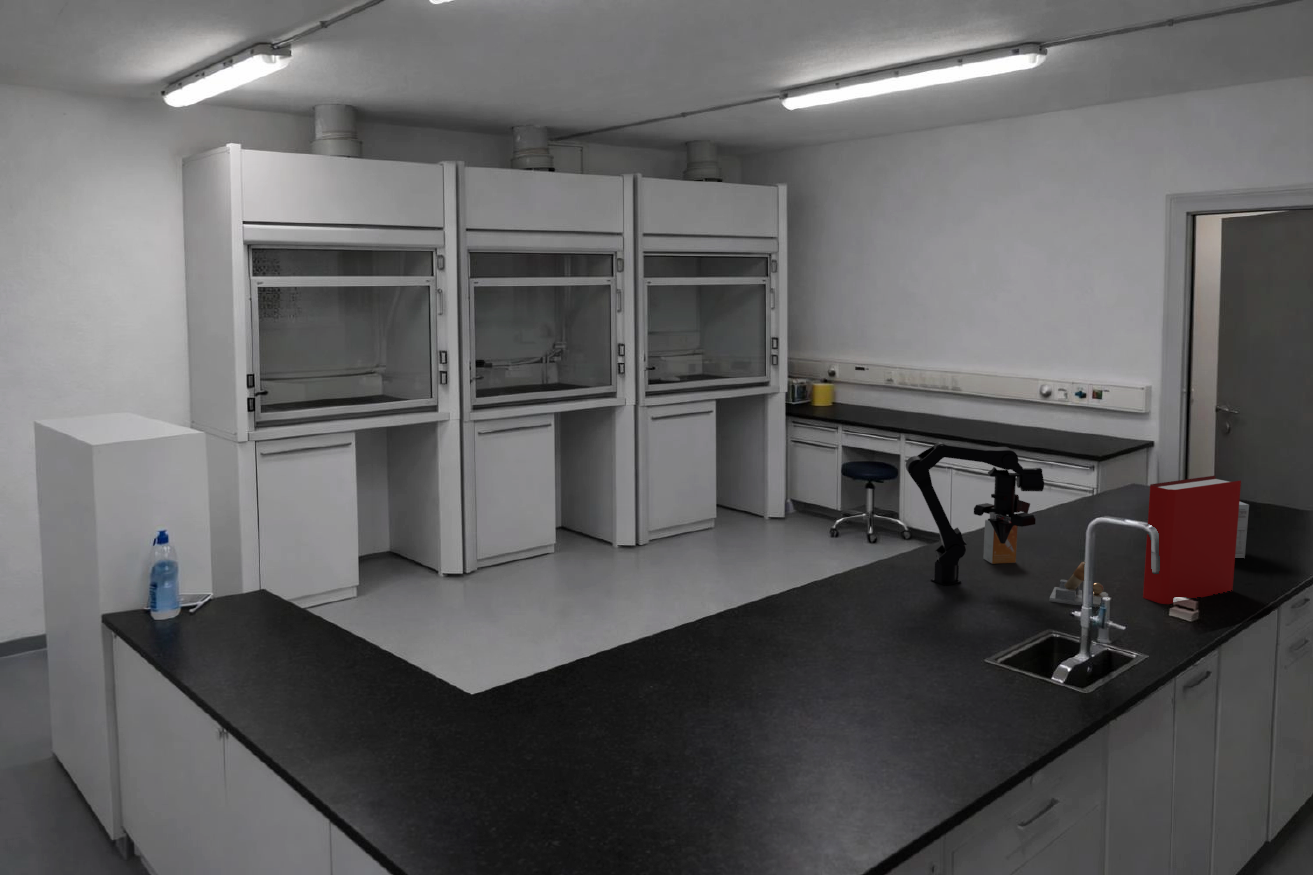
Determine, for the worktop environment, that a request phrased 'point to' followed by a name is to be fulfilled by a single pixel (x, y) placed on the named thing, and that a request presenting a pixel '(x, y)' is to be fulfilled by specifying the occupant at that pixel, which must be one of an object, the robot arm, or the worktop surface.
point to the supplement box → (1242, 530)
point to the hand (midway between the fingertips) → (1002, 543)
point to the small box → (999, 545)
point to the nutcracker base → (1076, 594)
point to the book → (1192, 538)
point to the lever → (1076, 578)
